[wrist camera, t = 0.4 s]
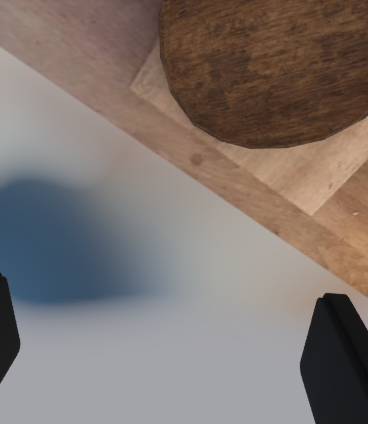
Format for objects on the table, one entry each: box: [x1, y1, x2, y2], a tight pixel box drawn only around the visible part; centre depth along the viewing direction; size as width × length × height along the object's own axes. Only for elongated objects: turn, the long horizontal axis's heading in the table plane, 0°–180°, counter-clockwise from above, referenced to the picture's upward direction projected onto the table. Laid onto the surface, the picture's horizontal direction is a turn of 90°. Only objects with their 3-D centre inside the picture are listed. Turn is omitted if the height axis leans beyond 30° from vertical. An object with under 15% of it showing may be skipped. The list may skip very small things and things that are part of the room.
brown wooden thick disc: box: [159, 0, 368, 149], centre depth 32 cm, size 20×22×5 cm
